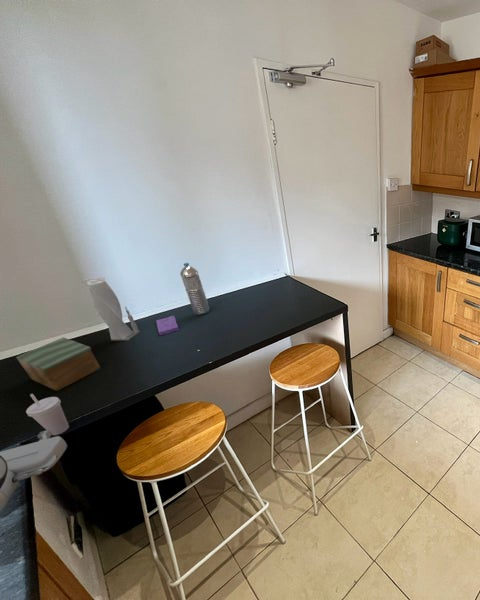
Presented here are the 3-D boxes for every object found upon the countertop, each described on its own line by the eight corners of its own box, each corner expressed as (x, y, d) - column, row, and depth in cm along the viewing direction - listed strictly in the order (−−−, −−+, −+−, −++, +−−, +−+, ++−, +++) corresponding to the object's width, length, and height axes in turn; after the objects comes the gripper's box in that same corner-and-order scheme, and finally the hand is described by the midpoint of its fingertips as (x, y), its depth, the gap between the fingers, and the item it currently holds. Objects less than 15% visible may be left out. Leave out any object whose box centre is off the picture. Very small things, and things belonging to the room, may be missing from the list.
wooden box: (100, 368, 114) (90, 348, 110) (56, 391, 103) (42, 370, 99) (75, 358, 119) (64, 339, 115) (31, 379, 108) (17, 359, 104)
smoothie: (39, 435, 88) (11, 398, 82) (67, 418, 93) (43, 382, 87) (52, 442, 86) (24, 404, 79) (80, 424, 91) (56, 388, 85)
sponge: (175, 318, 145) (174, 315, 144) (179, 330, 137) (177, 326, 136) (157, 323, 141) (155, 320, 140) (159, 335, 133) (158, 332, 132)
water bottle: (205, 315, 148) (188, 266, 136) (190, 315, 148) (173, 266, 137) (213, 308, 154) (198, 260, 143) (199, 308, 154) (183, 260, 143)
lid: (91, 348, 110) (90, 347, 109) (44, 370, 99) (42, 368, 99) (64, 339, 115) (63, 337, 115) (17, 358, 104) (15, 356, 104)
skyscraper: (125, 342, 128) (95, 280, 115) (105, 342, 128) (73, 280, 115) (140, 331, 136) (113, 271, 123) (122, 331, 136) (93, 271, 123)
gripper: (42, 461, 67) (70, 415, 79) (-101, 503, 60) (-48, 446, 71) (57, 479, 70) (81, 433, 81) (-78, 521, 63) (-31, 464, 74)
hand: (20, 439), depth 76 cm, fingers open, 8 cm apart
